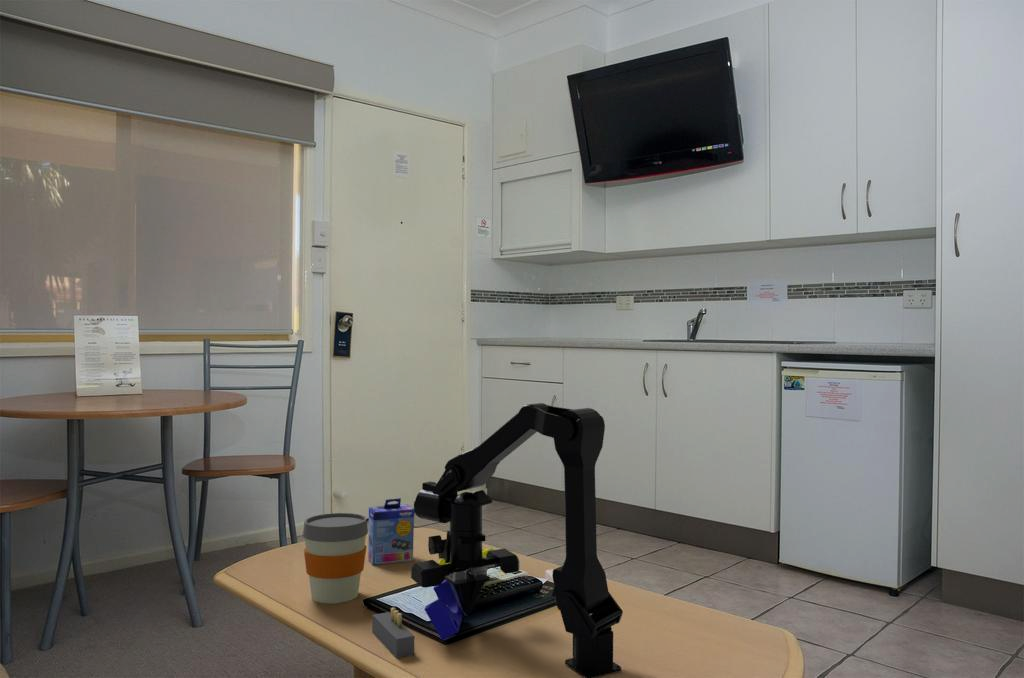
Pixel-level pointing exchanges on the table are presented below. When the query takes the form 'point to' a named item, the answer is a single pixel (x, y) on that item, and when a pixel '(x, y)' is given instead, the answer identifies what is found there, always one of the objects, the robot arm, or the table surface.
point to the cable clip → (445, 610)
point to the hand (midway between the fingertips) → (466, 615)
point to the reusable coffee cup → (335, 555)
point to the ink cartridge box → (391, 533)
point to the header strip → (393, 633)
